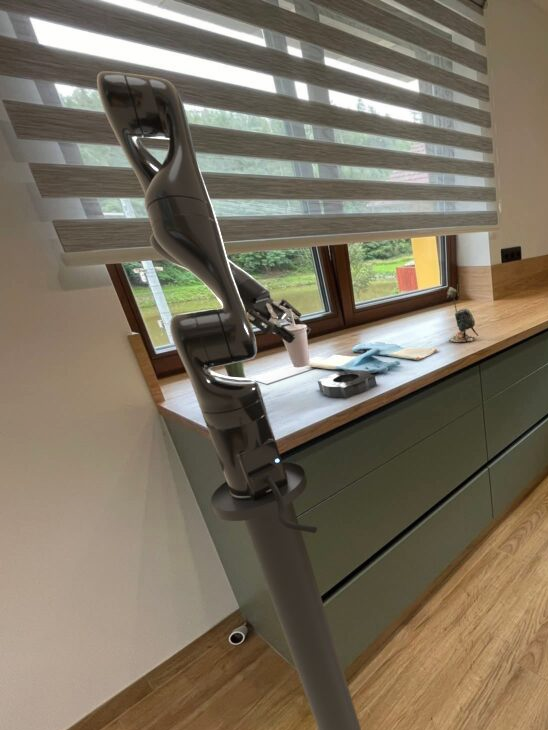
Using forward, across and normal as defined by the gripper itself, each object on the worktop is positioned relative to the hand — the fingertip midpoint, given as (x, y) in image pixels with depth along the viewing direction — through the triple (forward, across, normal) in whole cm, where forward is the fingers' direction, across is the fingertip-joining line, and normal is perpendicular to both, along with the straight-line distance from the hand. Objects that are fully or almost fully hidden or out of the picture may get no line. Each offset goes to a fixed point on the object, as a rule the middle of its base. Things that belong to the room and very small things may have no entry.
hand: (300, 336), depth 103 cm
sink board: (+15, +10, +10) cm, 21 cm away
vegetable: (-8, 0, +19) cm, 21 cm away
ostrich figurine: (+33, +54, -8) cm, 64 cm away
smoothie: (+4, 0, +6) cm, 8 cm away
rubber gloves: (+14, +35, +12) cm, 40 cm away
